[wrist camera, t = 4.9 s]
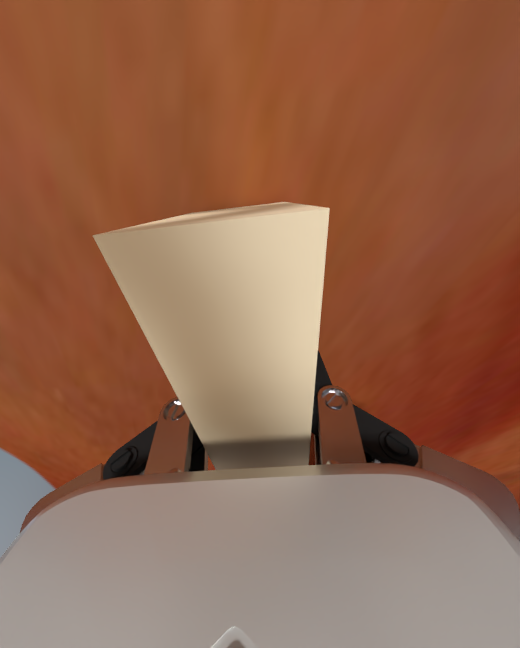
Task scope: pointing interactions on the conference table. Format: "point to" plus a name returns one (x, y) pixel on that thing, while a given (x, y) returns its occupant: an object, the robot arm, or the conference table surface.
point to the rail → (232, 321)
